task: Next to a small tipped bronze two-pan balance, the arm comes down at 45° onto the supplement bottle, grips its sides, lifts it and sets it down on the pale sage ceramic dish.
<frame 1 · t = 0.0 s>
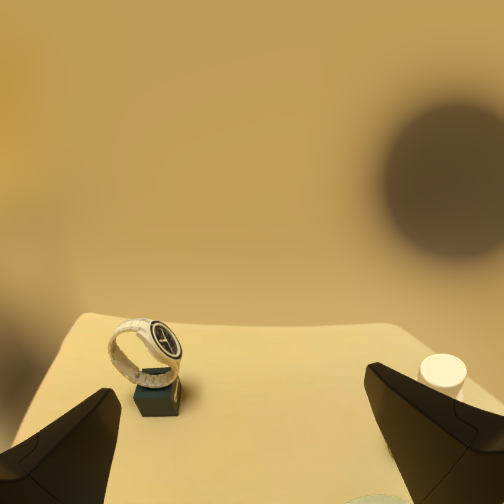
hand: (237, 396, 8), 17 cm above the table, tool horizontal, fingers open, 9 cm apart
supplement bottle: (412, 445, 17), on the table
watch: (163, 401, 28), on the table
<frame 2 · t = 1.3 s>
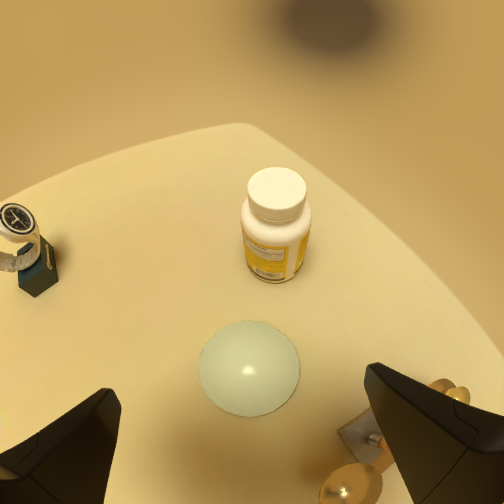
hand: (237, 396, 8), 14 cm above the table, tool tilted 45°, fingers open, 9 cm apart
supplement bottle: (274, 259, 27), on the table
balance: (370, 438, 17), on the table
watch: (44, 271, 27), on the table
dish: (249, 369, 21), on the table
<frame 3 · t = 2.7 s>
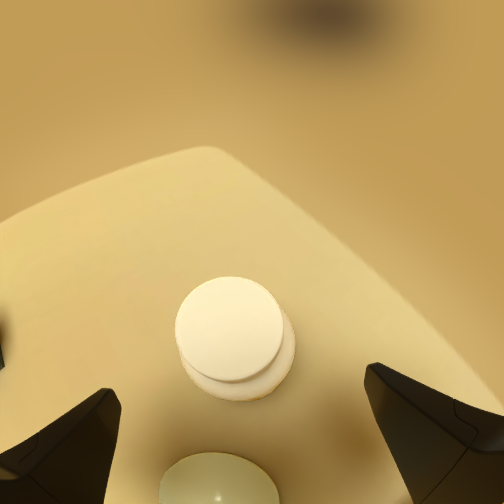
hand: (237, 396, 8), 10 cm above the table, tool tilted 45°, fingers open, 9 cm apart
supplement bottle: (246, 363, 18), on the table
dish: (219, 499, 13), on the table
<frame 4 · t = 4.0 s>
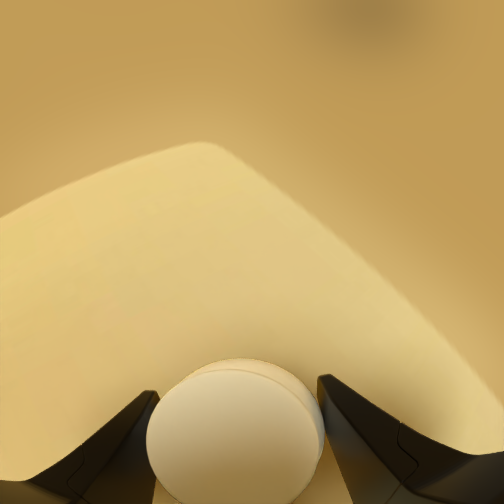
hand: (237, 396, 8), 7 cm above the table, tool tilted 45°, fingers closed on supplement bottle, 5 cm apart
supplement bottle: (251, 419, 13), on the table, touching gripper
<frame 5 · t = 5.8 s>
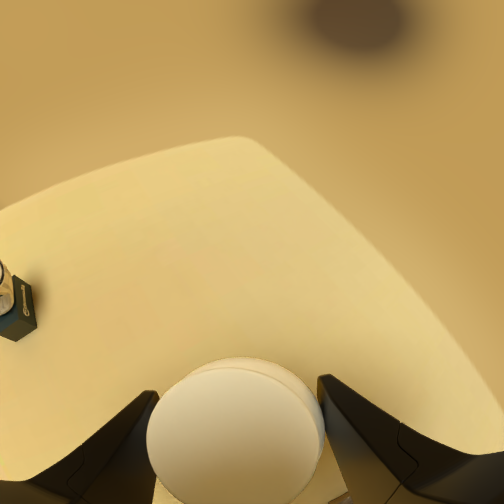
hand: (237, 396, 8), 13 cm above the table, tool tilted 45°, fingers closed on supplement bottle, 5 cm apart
supplement bottle: (251, 418, 13), point 6 cm above the table, touching gripper
watch: (24, 313, 23), on the table
when the fingers open (9 cm above the table, at t = 7.6 s): supplement bottle drops 1 cm, resting on dish.
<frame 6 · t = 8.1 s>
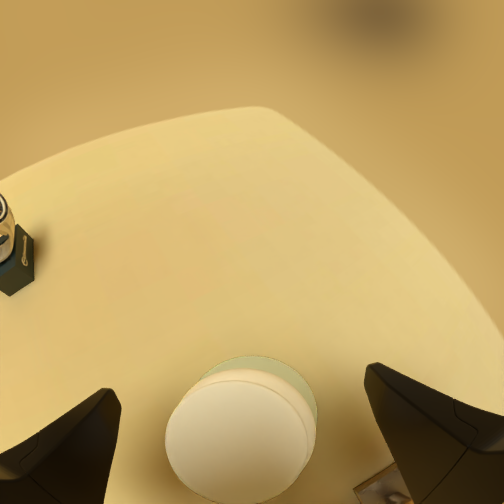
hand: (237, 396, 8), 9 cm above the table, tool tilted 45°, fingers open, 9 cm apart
supplement bottle: (251, 420, 15), point 1 cm above the table, touching dish
balance: (389, 495, 11), on the table
watch: (22, 267, 22), on the table
dish: (252, 416, 15), on the table
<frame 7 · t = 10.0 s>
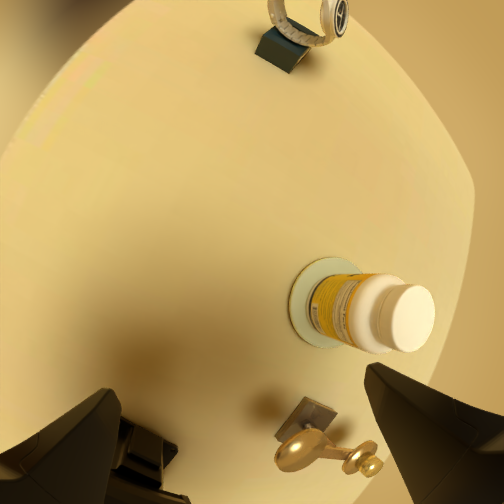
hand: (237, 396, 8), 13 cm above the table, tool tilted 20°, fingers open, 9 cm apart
supplement bottle: (331, 304, 23), point 1 cm above the table, touching dish
balance: (304, 423, 23), on the table
watch: (283, 53, 25), on the table
dish: (328, 302, 24), on the table
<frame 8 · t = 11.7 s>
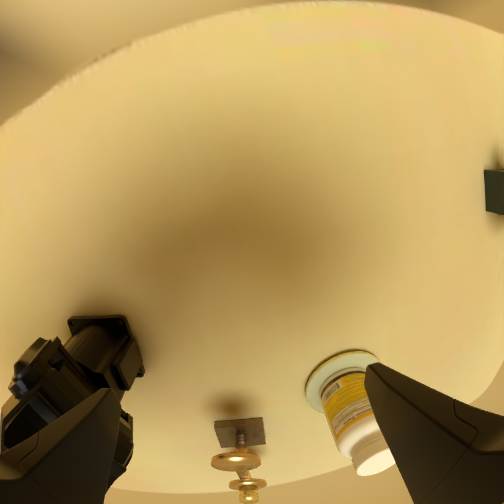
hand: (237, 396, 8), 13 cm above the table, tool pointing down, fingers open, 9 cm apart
supplement bottle: (344, 385, 24), point 1 cm above the table, touching dish
balance: (240, 430, 25), on the table
watch: (496, 189, 20), on the table
dish: (343, 380, 24), on the table
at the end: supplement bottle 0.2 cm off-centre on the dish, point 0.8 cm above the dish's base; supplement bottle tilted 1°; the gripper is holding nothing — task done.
